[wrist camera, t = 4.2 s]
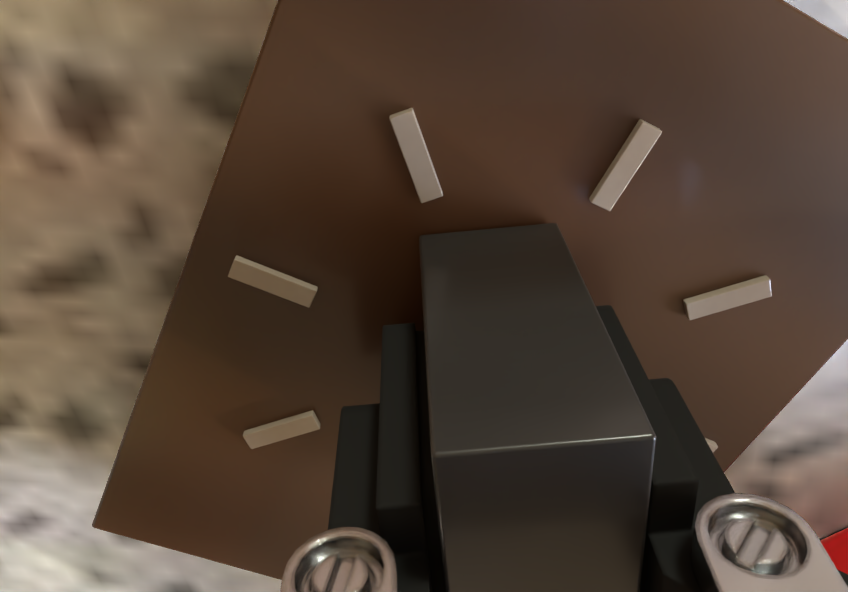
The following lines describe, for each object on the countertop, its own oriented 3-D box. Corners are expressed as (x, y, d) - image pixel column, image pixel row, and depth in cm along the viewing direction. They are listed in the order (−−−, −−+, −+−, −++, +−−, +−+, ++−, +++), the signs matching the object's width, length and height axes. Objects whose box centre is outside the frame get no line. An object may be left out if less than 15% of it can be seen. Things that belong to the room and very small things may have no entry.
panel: (373, -223, 10) (366, -253, 8) (923, 103, 13) (1036, 150, 11) (131, 443, 16) (87, 534, 14) (536, 569, 19) (555, 662, 17)
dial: (418, 233, 11) (431, 474, 7) (557, 221, 11) (667, 453, 7) (442, 481, 14) (464, 771, 9) (554, 472, 14) (630, 757, 9)
